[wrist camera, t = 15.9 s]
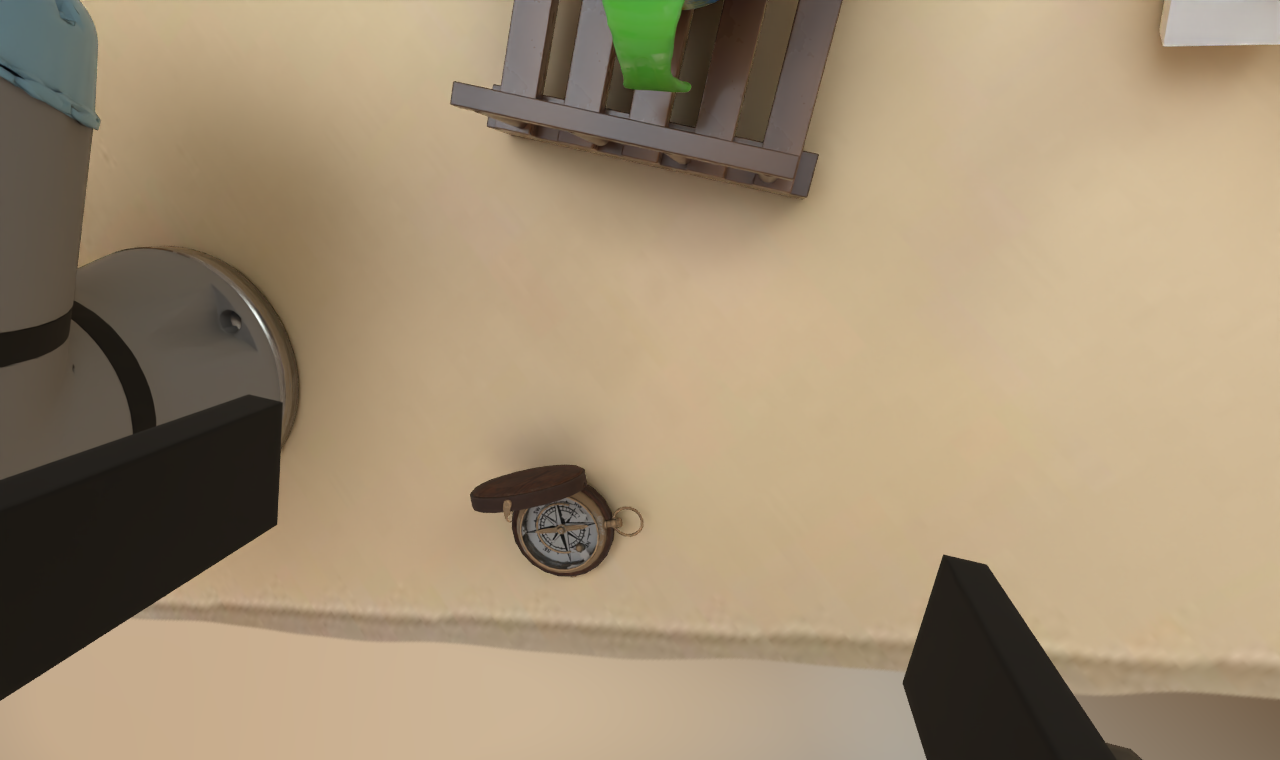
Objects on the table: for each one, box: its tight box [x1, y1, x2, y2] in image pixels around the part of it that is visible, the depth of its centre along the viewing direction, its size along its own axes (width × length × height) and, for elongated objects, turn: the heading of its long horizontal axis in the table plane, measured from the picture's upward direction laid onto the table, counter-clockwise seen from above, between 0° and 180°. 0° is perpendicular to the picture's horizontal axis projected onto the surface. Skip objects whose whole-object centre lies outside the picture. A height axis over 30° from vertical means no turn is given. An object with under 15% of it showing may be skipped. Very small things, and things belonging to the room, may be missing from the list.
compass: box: [470, 465, 643, 577], centre depth 38 cm, size 8×8×7 cm
